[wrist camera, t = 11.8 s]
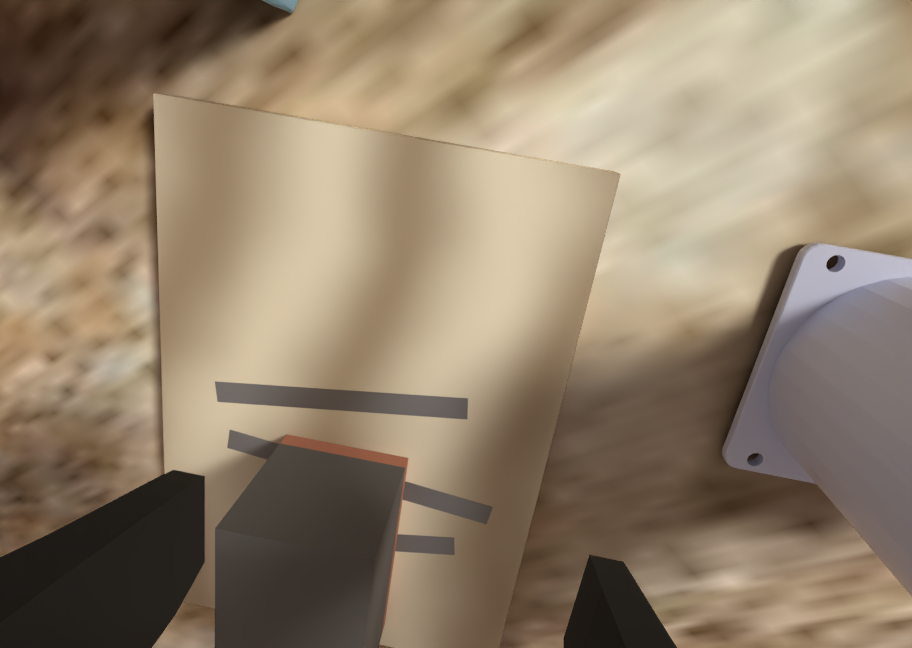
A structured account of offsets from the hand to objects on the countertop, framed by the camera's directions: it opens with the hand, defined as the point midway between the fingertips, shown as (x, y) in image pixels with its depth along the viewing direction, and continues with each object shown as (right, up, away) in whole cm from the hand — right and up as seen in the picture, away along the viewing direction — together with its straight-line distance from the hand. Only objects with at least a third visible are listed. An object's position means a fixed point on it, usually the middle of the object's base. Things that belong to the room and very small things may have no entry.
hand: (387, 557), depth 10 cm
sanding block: (-3, -4, +11) cm, 12 cm away
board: (-2, +1, +10) cm, 11 cm away
